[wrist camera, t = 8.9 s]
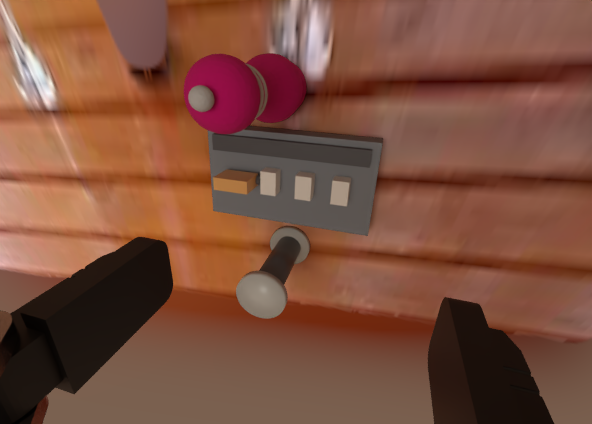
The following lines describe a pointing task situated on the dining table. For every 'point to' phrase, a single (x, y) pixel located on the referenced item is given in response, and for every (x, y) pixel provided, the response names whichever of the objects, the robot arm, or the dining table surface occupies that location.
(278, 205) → the breaker panel
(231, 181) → the main breaker lever
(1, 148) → the dining table surface
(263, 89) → the pepper mill
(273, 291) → the grey-capped dumbbell
